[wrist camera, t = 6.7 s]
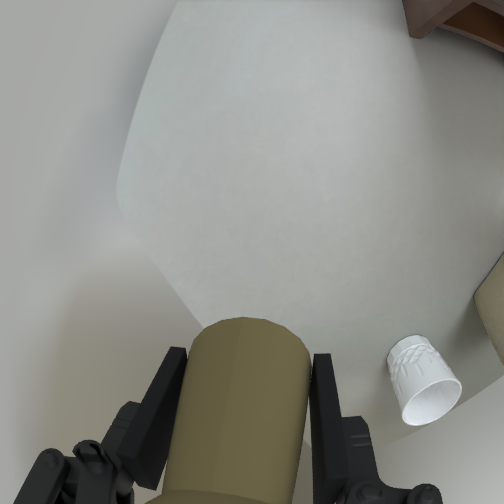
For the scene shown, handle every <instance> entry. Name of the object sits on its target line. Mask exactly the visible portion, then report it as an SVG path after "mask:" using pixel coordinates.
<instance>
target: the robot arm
mask: <svg viewBox="0 0 504 504" xmlns="http://www.w3.org/2000/svg"><path fill="white" fill-rule="evenodd" d="M186 364H187V354H186V349H185V348H180V347H170V349H169V351H168V353H167V354H166V356H165V358H164V360H163V362H162V364H161V366H160V368H159V370H158V372H157V373H156V375H155V377H154V379H153V381H152V383H151V385H150V387H149V388H148V391H147V392H146V394H145V396H144V398H143V400H142V402H141V403H136V402H132V401H129V402H127V403H126V404H125V405H124V406H122V407H121V408H120V410H119V412H118V414H117V415H116V418H115V419H114V421H113V423H112V425H111V426H110V428H109V430H108V431H107V433H106V435H105V437H104V439H103V440H102V442H101V444H100V443H98V442H97V441H94V440H84V441H82V442H79V443H78V444H77V445H76V446H75V447H74V449H73V451H72V452H73V453H74V455H75V456H76V457H67V456H64V455H63V454H62V453H61V452H60V451H59V450H57V449H53V448H50V449H46V450H44V451H42V452H41V453H40V455H39V456H38V458H37V460H36V461H35V463H34V465H33V467H32V469H31V470H30V472H29V474H28V476H27V478H26V480H25V482H24V484H23V486H22V487H21V490H20V491H19V493H18V495H17V497H16V499H15V501H14V503H13V504H134V490H133V488H132V486H133V483H134V481H135V482H136V483H137V484H138V486H140V487H144V488H147V489H151V490H155V491H156V489H157V486H158V483H159V481H160V478H161V475H162V472H163V469H164V466H165V464H166V461H167V458H168V454H169V448H170V443H171V437H172V432H173V427H174V422H175V417H176V412H177V407H178V402H179V397H180V392H181V387H182V383H183V378H184V373H185V369H186ZM309 405H310V422H311V443H312V466H313V467H312V469H313V504H334V503H335V502H336V504H443V502H442V497H441V493H440V491H439V489H438V488H437V487H435V486H434V485H431V484H421V485H418V486H416V487H415V488H413V489H399V488H393V487H389V486H387V485H386V484H384V483H383V482H382V481H381V479H380V478H379V475H378V472H377V466H376V461H375V456H374V451H373V447H372V442H371V437H370V433H369V428H368V425H367V423H366V422H365V421H364V419H363V418H362V417H361V416H354V417H341V411H340V405H339V399H338V393H337V387H336V382H335V376H334V370H333V365H332V360H331V354H314V359H313V367H312V375H311V382H310V389H309Z"/></svg>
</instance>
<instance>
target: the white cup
mask: <svg viewBox="0 0 504 504" xmlns="http://www.w3.org/2000/svg"><path fill="white" fill-rule="evenodd" d="M387 365H388V369H389V372H390V377H391V381H392V384H393V388H394V392H395V395H396V398H397V401H398V405H399V408H400V412H401V415H402V419H403V421H404V422H405V423H406V424H408V425H413V426H418V425H424V424H427V423H430V422H433V421H435V420H437V419H439V418H440V417H442V416H443V415H445V414H446V413H447V412H448V411H449V410H450V409H451V408H452V407H453V406H454V405H455V404H456V402H457V401H458V399H459V397H460V395H461V392H462V386H461V383H460V382H459V380H458V379H457V378H456V376H455V375H454V373H453V372H452V370H451V369H450V368H449V366H448V365H447V363H446V362H445V361H444V359H443V358H442V356H441V355H440V354H439V353H438V352H437V350H436V349H434V348H433V346H432V345H431V344H430V343H429V341H428V340H427V339H426V337H423V336H420V335H414V336H408V337H406V338H404V339H403V340H401V341H399V342H398V343H397V344H396V345H395V346H394V347H393V348H392V349H391V350H390V353H389V355H388V357H387Z"/></svg>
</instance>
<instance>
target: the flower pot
mask: <svg viewBox="0 0 504 504" xmlns="http://www.w3.org/2000/svg"><path fill="white" fill-rule="evenodd" d="M474 301H475V304H476V307H477V310H478V312H479V315H480V317H481V320H482V322H483V324H484V327H485V329H486V331H487V334H488V336H489V338H490V340H491V342H492V344H493V346H494V348H495V350H496V352H497V354H498V356H499V358H500V360H501V362H502V364H503V366H504V253H503V255H502V256H501V258H500V259H499V261H498V262H497V264H496V265H495V266H494V268H493V269H492V271H491V272H490V273H489V275H488V276H487V278H486V279H485V280H484V282H483V283H482V284H481V286H480V287H479V288H478V290H477V291H476V292H475V295H474Z"/></svg>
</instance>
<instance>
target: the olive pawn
mask: <svg viewBox="0 0 504 504" xmlns="http://www.w3.org/2000/svg"><path fill="white" fill-rule="evenodd" d="M311 371H312V365H311V359H310V354H309V351H308V350H307V348H306V347H305V345H304V344H303V342H302V341H301V339H300V338H299V337H297V336H296V335H295V334H293V333H292V332H291V331H289V330H288V329H287V328H285V327H283V326H281V325H278V324H275V323H273V322H270V321H268V320H265V319H257V318H248V317H239V318H233V319H226V320H221V321H219V322H217V323H215V324H213V325H211V326H208V327H206V328H205V329H204V330H203V331H202V332H201V333H200V334H199V335H198V336H197V337H196V338H195V339H194V341H193V344H192V346H191V349H190V351H189V355H188V359H187V364H186V369H185V373H184V378H183V383H182V387H181V392H180V397H179V402H178V407H177V412H176V417H175V422H174V427H173V432H172V437H171V443H170V448H169V454H168V459H167V465H166V471H165V476H164V482H163V489H162V494H161V495H160V496H158V497H156V498H154V499H152V500H150V501H148V502H147V503H145V504H291V503H292V498H293V493H294V488H295V482H296V477H297V471H298V466H299V460H300V454H301V447H302V440H303V434H304V428H305V420H306V413H307V405H308V397H309V389H310V380H311Z"/></svg>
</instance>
